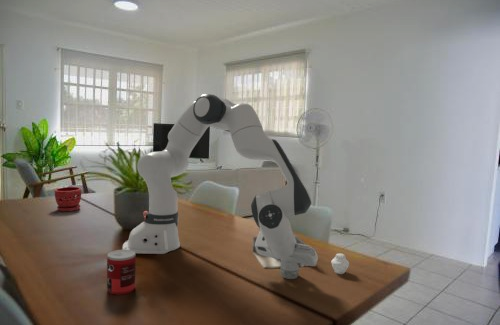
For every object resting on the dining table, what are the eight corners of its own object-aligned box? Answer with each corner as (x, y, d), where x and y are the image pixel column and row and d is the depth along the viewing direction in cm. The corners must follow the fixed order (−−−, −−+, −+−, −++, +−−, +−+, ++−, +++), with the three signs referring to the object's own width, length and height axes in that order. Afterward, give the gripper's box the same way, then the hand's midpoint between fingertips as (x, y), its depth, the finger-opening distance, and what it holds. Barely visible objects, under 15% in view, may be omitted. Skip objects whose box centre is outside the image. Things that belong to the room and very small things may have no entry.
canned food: (111, 283, 107) (111, 248, 106) (137, 283, 108) (138, 249, 107) (103, 295, 100) (103, 258, 99) (131, 295, 100) (132, 258, 99)
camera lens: (297, 280, 115) (299, 257, 115) (279, 278, 117) (280, 255, 116) (299, 273, 121) (300, 251, 121) (281, 270, 123) (282, 249, 122)
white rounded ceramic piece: (329, 268, 127) (330, 249, 126) (346, 269, 127) (347, 250, 126) (332, 275, 121) (333, 256, 120) (350, 276, 121) (351, 256, 120)
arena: (263, 268, 124) (264, 250, 123) (252, 252, 139) (253, 236, 139) (310, 265, 128) (311, 248, 128) (294, 250, 144) (295, 235, 143)
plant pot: (65, 206, 202) (65, 185, 201) (86, 208, 200) (86, 187, 199) (49, 211, 189) (48, 189, 188) (71, 213, 187) (71, 191, 186)
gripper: (316, 239, 107) (322, 260, 117) (256, 228, 116) (266, 248, 125) (311, 258, 103) (318, 278, 113) (249, 245, 112) (260, 264, 122)
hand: (290, 262), depth 119 cm, fingers open, 6 cm apart
